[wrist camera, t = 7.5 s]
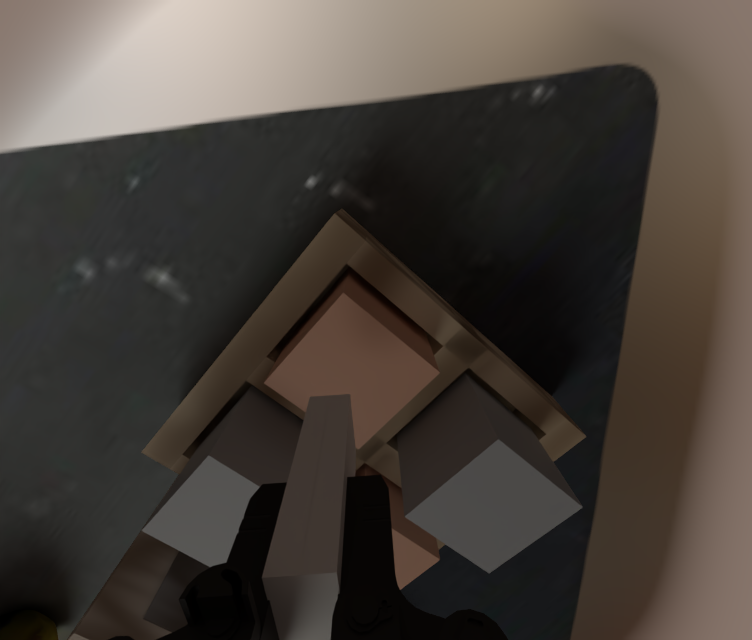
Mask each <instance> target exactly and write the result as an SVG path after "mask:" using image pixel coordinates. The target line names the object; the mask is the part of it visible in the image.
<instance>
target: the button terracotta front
mask: <svg viewBox="0 0 752 640" xmlns="http://www.w3.org/2000/svg"><path fill="white" fill-rule="evenodd" d="M439 373H440V371H439V368H438V365H437V363H436V360H435V357H434V354H433V352H432V349H431V346H430V343H429V341H428V338H427V335H426V332H425V330H424V329H423V328H422V327H421V326H419V325H418V324H417V323H416V322H415V321H413V320H412V319H411V318H410V317H409V316H408V315H406V314H405V313H404V312H403V311H402V310H401V309H399V308H398V307H397V306H396V305H395V304H394V303H392V302H391V301H390V300H389V299H388V298H387V297H385V296H384V295H383V294H382V293H381V292H379V291H378V290H377V289H376V288H375V287H374V286H372V285H371V284H370V283H369V282H368V281H367V280H365V279H364V278H363V277H362V276H361V275H360V274H358V273H357V272H356V271H355V270H354V269H353V268H351V267H349V268H348V269H347V270H346V272H345V273H344V274H343V275H342V276H341V277H340V278H339V280H338V281H337V282H336V283H335V284H334V285H333V287H332V288H331V289H330V290H329V291H328V292H327V294H326V295H325V296H324V297H323V298H322V299H321V300H320V302H319V303H318V304H317V305H316V306H315V307H314V309H313V310H312V311H311V312H310V313H309V314H308V315H307V317H306V318H305V319H304V320H303V321H302V322H301V324H300V325H299V326H298V327H297V328H296V329H295V331H294V332H293V333H292V334H291V335H290V337H289V339H288V341H287V342H286V344H285V346H284V348H283V350H282V351H281V353H280V355H279V357H278V358H277V360H276V362H275V364H274V366H273V367H272V369H271V371H270V373H269V374H268V376H267V378H266V380H265V382H264V384H266V385H267V386H269V387H270V388H272V389H273V390H274V391H276V392H277V393H279V394H280V395H282V396H283V397H284V398H286V399H287V400H289V401H290V402H292V403H293V404H294V405H296V406H297V407H299V408H300V409H302V410H303V411H304V412H306V410H307V406H308V402H309V398H310V397H313V396H327V395H342V394H350V398H351V408H352V418H353V428H354V437H355V447H356V448H357V449H360V448H361V447H362V446H363V445H364V444H365V443H366V442H367V441H368V440H369V439H370V438H371V437H372V436H373V435H374V434H376V433H377V432H378V431H379V430H380V429H381V428H382V427H383V426H384V425H385V424H386V423H387V422H388V421H389V420H390V419H391V418H392V417H394V416H395V415H396V414H397V413H398V412H399V411H400V410H401V409H402V408H403V407H404V406H405V405H406V404H407V403H408V402H409V401H411V400H412V399H413V398H414V397H415V396H416V395H417V394H418V393H419V392H420V391H421V390H422V389H423V388H424V387H425V386H426V385H428V384H429V383H430V382H431V381H432V380H433V379H434V378H435V377H436V376H437V375H438V374H439Z"/></svg>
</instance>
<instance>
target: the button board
mask: <svg viewBox="0 0 752 640" xmlns="http://www.w3.org/2000/svg"><path fill="white" fill-rule="evenodd" d="M349 267H351V268H353V269H354V270H355V271H356V272H357V273H358V274H360V275H361V276H362V277H363V278H364V279H365V280H367V281H368V282H369V283H370V284H371V285H372V286H374V287H375V288H376V289H377V290H378V291H379V292H381V293H382V294H383V295H384V296H385V297H387V298H388V299H389V300H390V301H391V302H392V303H394V304H395V305H396V306H397V307H398V308H399V309H401V310H402V311H403V312H404V313H405V314H406V315H408V316H409V317H410V318H411V319H412V320H413V321H415V322H416V323H417V324H418V325H419V326H421V327H422V328H423V329H424V330H425V332H426V335H427V338H428V341H429V343H430V346H431V349H432V352H433V354H434V357H435V360H436V363H437V365H438V368H439V371H440V373H439V374H438V375H437V376H436V377H435V378H434V379H433V380H432V381H431V382H430V383H429V384H428V385H426V386H425V387H424V388H423V389H422V390H421V391H420V392H419V393H418V394H417V395H416V396H415V397H414V398H413V399H412V400H411V401H409V402H408V403H407V404H406V405H405V406H404V407H403V408H402V409H401V410H400V411H399V412H398V413H397V414H396V415H395V416H394V417H392V418H391V419H390V420H389V421H388V422H387V423H386V424H385V425H384V426H383V427H382V428H381V429H380V430H379V431H378V432H377V433H376V434H374V435H373V436H372V437H371V438H370V439H369V440H368V441H367V442H366V443H365V444H364V445H363V446H362V447H361V448H360V449H357V448H356V469H355V471H356V470H357V469H358V468H360V467H361V466H362V465H363V464H364V463H366V464H367V465H369V466H370V467H372V468H373V469H375V470H376V471H378V472H379V473H380V474H382V475H383V476H385V477H386V478H388V479H389V480H391V481H392V482H393V483H395V484H396V485H398V486H399V487H401V488H402V486H401V475H400V465H399V455H398V444H397V434H398V433H400V432H401V431H402V430H403V429H404V428H405V427H406V426H407V425H408V424H409V423H410V422H411V421H413V420H414V419H415V418H416V417H417V416H418V415H419V414H420V413H421V412H422V411H423V410H425V409H426V408H427V407H428V406H429V405H430V404H431V403H432V402H433V401H434V400H435V399H436V398H438V397H439V396H440V395H441V394H442V393H443V392H444V391H445V390H446V389H447V388H448V387H450V386H451V385H452V384H453V383H454V382H455V381H456V380H457V379H458V378H459V377H460V376H461V375H463V374H464V373H466V374H468V375H469V376H470V377H471V378H472V379H474V380H475V381H476V382H477V383H478V384H479V385H481V386H482V387H483V388H484V389H485V390H487V391H488V392H489V393H490V394H491V395H492V396H494V397H495V398H496V399H497V400H498V401H500V402H501V403H502V404H503V405H504V406H505V407H507V408H508V409H509V410H510V411H511V412H513V413H514V414H515V415H516V416H517V417H518V418H520V419H521V420H522V421H523V422H524V423H526V424H527V425H528V426H529V427H530V428H531V429H532V431H533V432H534V434H535V435H536V437H537V438H538V440H539V441H540V443H541V444H542V446H543V447H544V449H545V450H546V452H547V454H548V455H549V457H550V458H551V460H552V461H553V462H554V461H555V460H556V459H558V458H559V457H560V456H562V455H563V454H564V453H566V452H567V451H568V450H570V449H571V448H572V447H573V446H575V445H576V444H577V443H579V442H580V441H581V440H583V439H584V438H585V437H586V436H585V434H584V433H583V432H582V431H581V430H580V429H579V427H578V426H577V425H576V424H575V423H574V422H573V420H572V419H571V418H570V417H569V416H568V415H567V413H566V412H565V411H564V410H563V409H562V408H561V406H560V405H559V404H558V403H557V402H556V401H555V399H554V398H553V397H552V396H551V395H550V394H549V393H547V392H546V391H545V390H544V389H543V388H542V387H541V386H540V385H539V384H537V383H536V382H535V381H534V380H533V379H532V378H531V377H530V376H528V375H527V374H526V373H525V372H524V371H523V370H522V369H521V368H520V367H518V366H517V365H516V364H515V363H514V362H513V361H512V360H511V359H510V358H508V357H507V356H506V355H505V354H504V353H503V352H502V351H501V350H499V349H498V348H497V347H496V346H495V345H494V344H493V343H492V342H491V341H489V340H488V339H487V338H486V337H485V336H484V335H483V334H482V333H481V332H479V331H478V330H477V329H476V328H475V327H474V326H473V325H472V324H471V323H469V322H468V321H467V320H466V319H465V318H464V317H463V316H462V315H460V314H459V313H458V312H457V311H456V310H455V309H454V308H453V307H452V306H450V305H449V304H448V303H447V302H446V301H445V300H444V299H443V298H442V297H440V296H439V295H438V294H437V293H436V292H435V291H434V290H433V289H431V288H430V287H429V286H428V285H427V284H426V283H425V282H424V281H423V280H421V279H420V278H419V277H418V276H417V275H416V274H415V273H414V272H413V271H411V270H410V269H409V268H408V267H407V266H406V265H405V264H404V263H402V262H401V261H400V260H399V259H398V258H397V257H396V256H395V255H394V254H392V253H391V252H390V251H389V250H388V249H387V248H386V247H385V246H384V245H382V244H381V243H380V242H379V241H378V240H377V239H376V238H375V237H373V236H372V235H371V234H370V233H369V232H368V231H367V230H366V229H365V228H363V227H362V226H361V225H360V224H359V223H358V222H357V221H356V220H355V219H353V218H352V217H351V216H350V215H349V214H348V213H347V212H346V211H345V210H343V209H340V210H339V211H337V212H336V213H334V215H333V216H332V217H331V218H330V220H329V221H328V222H327V223H326V224H325V226H324V227H323V228H322V229H321V231H320V232H319V233H318V234H317V236H316V237H315V238H314V239H313V241H312V242H311V243H310V244H309V246H308V247H307V248H306V249H305V250H304V252H303V253H302V254H301V255H300V257H299V258H298V259H297V260H296V262H295V263H294V264H293V265H292V267H291V268H290V269H289V270H288V271H287V273H286V274H285V275H284V276H283V278H282V279H281V280H280V281H279V283H278V284H277V285H276V286H275V288H274V289H273V290H272V291H271V292H270V294H269V295H268V296H267V297H266V299H265V300H264V301H263V302H262V304H261V305H260V306H259V307H258V309H257V310H256V311H255V312H254V314H253V315H252V316H251V317H250V318H249V320H248V321H247V322H246V323H245V325H244V326H243V327H242V328H241V330H240V331H239V332H238V333H237V335H236V336H235V337H234V338H233V339H232V341H231V342H230V343H229V344H228V346H227V347H226V348H225V349H224V351H223V352H222V353H221V354H220V356H219V357H218V358H217V359H216V361H215V362H214V363H213V364H212V365H211V367H210V368H209V369H208V370H207V372H206V373H205V374H204V375H203V377H202V378H201V379H200V380H199V382H198V383H197V384H196V385H195V386H194V388H193V389H192V390H191V391H190V393H189V394H188V395H187V396H186V398H185V399H184V400H183V401H182V403H181V404H180V405H179V406H178V408H177V409H176V410H175V411H174V412H173V414H172V415H171V416H170V417H169V419H168V420H167V421H166V422H165V424H164V425H163V426H162V427H161V429H160V430H159V431H158V432H157V433H156V435H155V436H154V437H153V438H152V440H151V441H150V442H149V443H148V445H147V446H146V447H145V448H144V450H143V451H142V453H143V454H145V455H147V456H148V457H150V458H152V459H154V460H155V461H157V462H159V463H160V464H162V465H164V466H165V467H167V468H169V469H171V470H172V471H174V472H176V473H177V474H179V475H180V473H181V472H182V470H183V469H184V467H185V466H186V464H187V463H188V461H189V460H190V458H191V457H192V455H193V454H194V452H195V451H196V449H197V448H198V446H199V445H200V444H201V443H202V442H203V441H204V440H205V438H206V437H207V436H208V435H209V434H210V433H211V432H212V430H213V429H214V428H215V427H216V426H217V425H218V423H219V422H220V421H221V420H222V419H223V418H224V417H225V415H226V414H227V413H228V412H229V411H230V410H231V409H232V407H233V406H234V405H235V404H236V403H237V402H238V400H239V399H240V398H241V397H242V396H243V395H244V394H245V392H246V391H247V390H248V389H249V388H250V387H251V386H252V385H253V386H255V387H256V388H257V389H259V390H260V391H262V392H263V393H265V394H266V395H268V396H269V397H270V398H272V399H273V400H275V401H276V402H278V403H279V404H281V405H282V406H283V407H285V408H286V409H288V410H289V411H291V412H292V413H294V414H295V415H296V416H298V417H299V418H301V419H302V420H304V417H305V413H306V412H304V411H303V410H302V409H300V408H299V407H297V406H296V405H294V404H293V403H292V402H290V401H289V400H287V399H286V398H284V397H283V396H282V395H280V394H279V393H277V392H276V391H274V390H273V389H272V388H270V387H269V386H267V385H266V384H264V382H265V380H266V378H267V376H268V374H269V373H270V371H271V369H272V367H273V366H274V364H275V362H276V360H277V358H278V357H279V355H280V353H281V351H282V350H283V348H284V346H285V344H286V342H287V341H288V339H289V337H290V335H291V334H292V333H293V332H294V331H295V329H296V328H297V327H298V326H299V325H300V324H301V322H302V321H303V320H304V319H305V318H306V317H307V315H308V314H309V313H310V312H311V311H312V310H313V309H314V307H315V306H316V305H317V304H318V303H319V302H320V300H321V299H322V298H323V297H324V296H325V295H326V294H327V292H328V291H329V290H330V289H331V288H332V287H333V285H334V284H335V283H336V282H337V281H338V280H339V278H340V277H341V276H342V275H343V274H344V273H345V272H346V270H347V269H348V268H349ZM179 475H178V476H179ZM177 478H178V477H177ZM177 478H176V479H177ZM174 482H175V481H174ZM172 485H173V484H172ZM170 488H171V487H170ZM168 491H169V490H168ZM168 491H167V492H168ZM166 494H167V493H166ZM166 494H165V495H166ZM164 497H165V496H164ZM164 497H163V498H164ZM162 500H163V499H162ZM162 500H161V501H162ZM160 503H161V502H160ZM160 503H159V504H160ZM158 506H159V505H158ZM158 506H157V507H158ZM156 509H157V508H156ZM156 509H155V510H156ZM154 512H155V511H154ZM154 512H153V513H154ZM152 515H153V514H152ZM152 515H151V516H152ZM149 519H150V518H149ZM149 519H148V520H149ZM147 522H148V521H147ZM147 522H146V523H147ZM145 525H146V524H145ZM145 525H144V526H145ZM143 528H144V527H143ZM143 528H142V529H143ZM436 540H437V545H438V550H439V549H440V548H441V547H443V546H444V545H445V544H444V543H443V542H441V541H440V540H438V539H437V538H436ZM208 568H210V567H209V566H207V565H205V564H203V563H201V562H199V561H198V560H196V559H194V558H192V557H190V556H188V555H186V554H184V553H183V552H181V551H179V550H177V549H175V548H173V547H171V546H169V545H167V544H166V543H164V542H162V541H160V540H158V539H156V538H154V537H152V536H150V535H149V534H147V533H145V532H143V531H142V530H141V531H140V533H139V534H138V536H137V537H136V539H135V540H134V542H133V543H132V545H131V546H130V548H129V549H128V550H127V552H126V553H125V555H124V556H123V558H122V559H121V561H120V562H119V564H118V565H117V567H116V568H115V570H114V571H113V573H112V574H111V576H110V577H109V578H108V580H107V581H106V583H105V584H104V586H103V587H102V589H101V590H100V592H99V593H98V595H97V596H96V598H95V599H94V601H93V602H92V604H91V605H90V607H89V608H88V609H87V611H86V612H85V614H84V615H83V617H82V618H81V620H80V621H79V623H78V624H77V626H76V627H75V629H74V630H73V632H72V633H71V635H70V636H69V637H68V639H67V640H108V639H110V638H113V637H115V636H130V637H131V638H133V639H134V640H156V639H158V638H160V637H163V636H165V635H168V634H170V633H172V632H175V631H176V630H178V629H180V628H182V627H184V626H186V625H187V624H188V623H187V620H186V618H185V615H184V612H183V610H182V607H181V605H180V602H179V598H180V596H181V594H182V593H183V591H184V590H185V588H186V586H187V585H188V584H189V583H190V582H191V581H192V580H193V579H194V578H195V577H196V576H197V575H198V574H200V573H201V572H203V571H205V570H206V569H208Z"/></svg>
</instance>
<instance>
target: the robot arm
mask: <svg viewBox="0 0 752 640" xmlns="http://www.w3.org/2000/svg"><path fill="white" fill-rule="evenodd" d="M355 469H356V447H355V437H354V428H353V418H352V408H351V398H350V394H342V395H327V396H313V397H310V398H309V402H308V406H307V410H306V413H305V417H304V421H303V425H302V428H301V432H300V436H299V440H298V443H297V447H296V451H295V455H294V459H293V462H292V466H291V470H290V474H289V477H288V481H287V482H284V483H270V484H262V485H261V486H260V487H259V489H258V490H257V491H256V492H255V493H254V495H253V496H252V497H251V498H250V500H249V503H248V505H247V508H246V511H245V513H244V519H242V522H241V524H240V527H239V531H238V533H237V535H236V538H235V540H234V543H233V546H232V548H231V551H230V554H229V557H228V559H227V562H226V563H222V564H218V565H214V566H212V567H210V568H208V569H206V570H205V571H203V572H201V573H200V574H198V575H197V576H196V577H195V578H194V579H193V580H192V581H191V582H190V583H189V584H188V585H187V586H186V588H185V590H184V591H183V593H182V594H181V596H180V598H179V602H180V605H181V607H182V610H183V612H184V615H185V618H186V620H187V623H188V624H187V625H186V626H184V627H182V628H180V629H178V630H176V631H175V632H172V633H170V634H168V635H165V636H163V637H160V638H158V639H156V640H508V639H507V637H506V636H505V634H504V633H503V631H502V630H501V629H500V627H499V626H498V624H497V623H496V622H494V621H493V620H492V619H490V618H489V617H488V616H486V615H485V614H484V613H481V612H477V611H474V610H471V609H468V610H459V611H456V612H455V613H453V614H452V615H450V616H449V617H447V618H446V619H445V618H442V617H439V616H436V615H432V614H429V613H426V612H424V611H422V610H420V609H417V608H416V607H414V606H413V605H412V604H411V603H409V602H408V601H407V600H406V598H405V597H404V596H403V594H402V593H401V591H400V589H399V587H398V584H397V580H396V575H395V563H394V550H393V537H392V524H391V511H390V498H389V488H388V486H387V484H386V483H385V481H384V479H383V478H382V476H381V475H368V476H355ZM108 640H134V639H133V638H131V637H130V636H115V637H113V638H110V639H108Z"/></svg>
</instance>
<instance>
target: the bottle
mask: <svg viewBox="0 0 752 640" xmlns="http://www.w3.org/2000/svg"><path fill="white" fill-rule="evenodd" d="M0 640H58V635H57V629H56V626H55V623H54V622H53V621H52V620H51V619H50V618H48V617H47V616H45V615H43V614H42V613H39V612H37V611H34V610H20V611H16V612H12V613H9V614H6V615H3V616H0Z"/></svg>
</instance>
